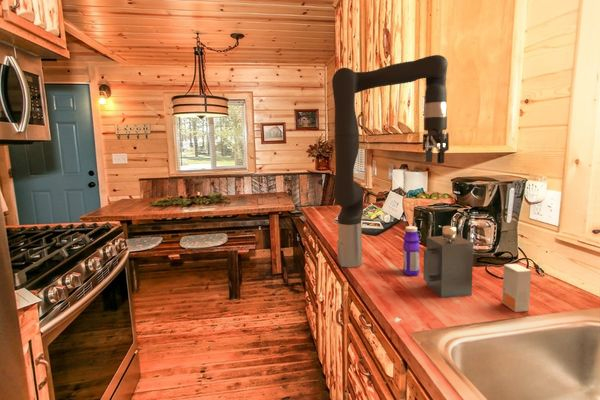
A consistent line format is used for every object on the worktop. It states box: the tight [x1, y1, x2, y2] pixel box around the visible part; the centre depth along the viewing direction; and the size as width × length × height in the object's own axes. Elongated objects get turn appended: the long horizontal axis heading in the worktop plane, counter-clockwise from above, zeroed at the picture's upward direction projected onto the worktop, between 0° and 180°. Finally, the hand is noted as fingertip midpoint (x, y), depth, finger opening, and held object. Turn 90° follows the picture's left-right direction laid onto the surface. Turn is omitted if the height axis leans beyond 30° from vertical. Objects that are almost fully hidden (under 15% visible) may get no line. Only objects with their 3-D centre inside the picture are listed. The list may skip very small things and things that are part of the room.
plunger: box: [442, 225, 457, 241], centre depth 115 cm, size 8×8×19 cm
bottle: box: [402, 225, 420, 277], centre depth 131 cm, size 7×6×17 cm
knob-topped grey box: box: [422, 234, 474, 299], centre depth 115 cm, size 13×10×17 cm
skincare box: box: [501, 263, 532, 313], centre depth 102 cm, size 6×4×12 cm
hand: (434, 162), depth 128 cm, fingers open, 8 cm apart
